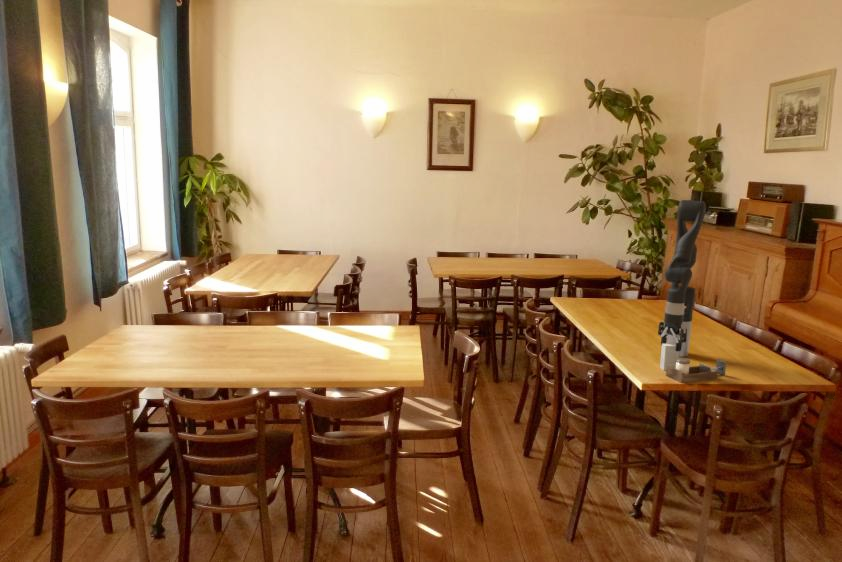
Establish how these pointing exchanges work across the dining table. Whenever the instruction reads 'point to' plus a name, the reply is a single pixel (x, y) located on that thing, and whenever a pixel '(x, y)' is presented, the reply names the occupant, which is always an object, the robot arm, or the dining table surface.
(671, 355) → the skincare box
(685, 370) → the stoneware jar
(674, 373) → the grey brown tray
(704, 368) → the pusher
